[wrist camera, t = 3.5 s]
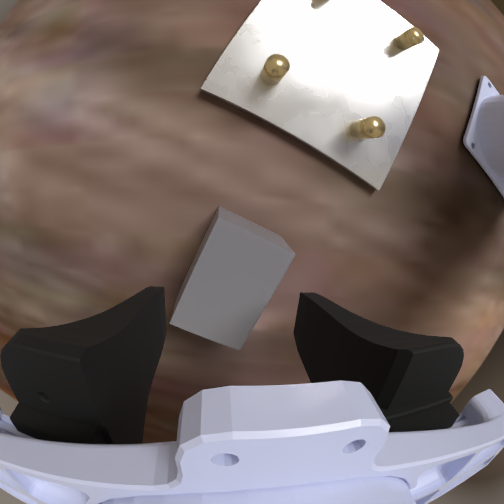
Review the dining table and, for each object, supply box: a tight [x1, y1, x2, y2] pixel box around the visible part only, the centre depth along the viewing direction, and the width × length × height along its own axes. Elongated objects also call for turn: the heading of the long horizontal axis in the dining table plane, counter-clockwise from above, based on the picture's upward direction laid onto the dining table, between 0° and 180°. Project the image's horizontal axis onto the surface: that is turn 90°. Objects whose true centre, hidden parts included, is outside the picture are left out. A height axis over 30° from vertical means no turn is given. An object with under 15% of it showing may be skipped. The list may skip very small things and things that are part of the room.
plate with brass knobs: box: [201, 0, 439, 190], centre depth 13 cm, size 12×13×3 cm
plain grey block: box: [169, 206, 295, 350], centre depth 16 cm, size 9×11×5 cm
